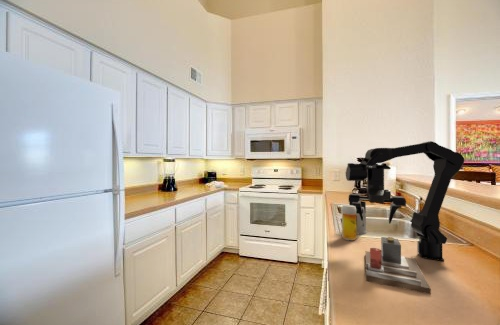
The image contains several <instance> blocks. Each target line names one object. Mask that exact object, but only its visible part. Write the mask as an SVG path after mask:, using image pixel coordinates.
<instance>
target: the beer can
mask: <svg viewBox="0 0 500 325" xmlns="http://www.w3.org/2000/svg"><path fill="white" fill-rule="evenodd" d="M341 237H342V239H343V240H345V241H349V240H354V241H356V239H357V234H356V207H355V206H353V205H349V204H343V205H342V207H341Z"/></svg>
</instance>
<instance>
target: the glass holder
mask: <svg viewBox="0 0 500 325" xmlns="http://www.w3.org/2000/svg"><path fill="white" fill-rule="evenodd" d="M360 202H361V208H362V215H363V221H362V220H361V217H360V214H359V212H358V209H357V207H356V206H355V205H354V204H352V202H349V201H348V205H353V206H355V207H356V233H360V234H359V235H366V234H368V231H367V211H366V205H367V204H366V202H367V201H360Z"/></svg>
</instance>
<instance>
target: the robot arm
mask: <svg viewBox="0 0 500 325" xmlns="http://www.w3.org/2000/svg"><path fill="white" fill-rule="evenodd" d="M418 154H425V155H426V157H427V158H428V159H429V160H431V161H432V162H433V164H432V165H433V172H434V175H433V179H432V181H431V184H430V187H429V190H428V191H427V192H428V193H427V195H426V198H425V201H424V204H423V205H422V206H423V207H422V209H421V210H420V211H419V212H416V211H414V212H413V213H412V218H411V219H410V225H411V226H410V227H411V228H412V230H413V231H414V232H415V234H416V236H417V237H419V238H418V239H419V240H418V241H417V247H416V248H417V253H418V254H419V256H420V257H421V258H423V259H428V260H437V261H440V262H441V261H442V262H444V261H445V258H444V257H443V245H445V244H446V242H447V240H448V238H447V237H446V235H444V234H443V233H442V232H441V231H440V227H441V222H440V218H439V214H440V211H441V209H442V206H443V202H444V200H445V197H446V194H447V191H448V189H449V187H450V183H451V180H452V178H453V177H454V176H455V175H456V174H457V173H459V172H460V171H461V168H462V167H463V166H464V164H465V157H463V155H462V154H461V153H460V152H457V151H453V150H452V149H450V148H448V147H445V146H443V145H440V144H438V143H437V142H436V141H435V142H434V141H431V140H430V141H423V142H421V143H415V144H408V145H403V146H399V147H375V148H371V149H368V150H367V151H366V152H365V156H364V158H363V159H362V161H361V162H360V163H350V162H349V163H347V166H346V169H345V170H346V171H345V179H346V181H349V182H354V181H356V182H362V181H363V182H364V180H365V179H366V183H367V184H366V196H364V195H363V196H362V195H361V194H360V193H350V194H349V195H348V203H349V202H352V204H354V205H355V206H356V207H357V209H358V212H359V214H360V217H361V220H362V221H363V215H362V208H361V202H360V201H363V202H369V203H371V204H374V203H377V204H385V203H389V204H390V205H389V206H390V207H389V211H388V212H389V214H388V224H391V223H392V221H393V218H394V215H395V213H396V212H397V211H398V209H402V207H406V206H407V199H406V198H405V197H404V196H401V195H400V196H399V195H391V194H392V192H391V189H385V170H391V167H390V166H389V165H388V164H387V163H386V162H387V161H388V162H389V161H391V160H393V159H395V158H399V157H400V158H402V157H406V156H412V155H418ZM370 166H371V167H370Z"/></svg>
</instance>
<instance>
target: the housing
mask: <svg viewBox="0 0 500 325" xmlns="http://www.w3.org/2000/svg"><path fill="white" fill-rule="evenodd" d="M380 239H381V241H380V242H381V243H380V246H381V249H380V250H381V255H382V259H383V261H385V262H391V263H397V264H401V256H402V245H401V242H400V241H399V238H394V237H391V236H388V237H386V236H381V238H380Z"/></svg>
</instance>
